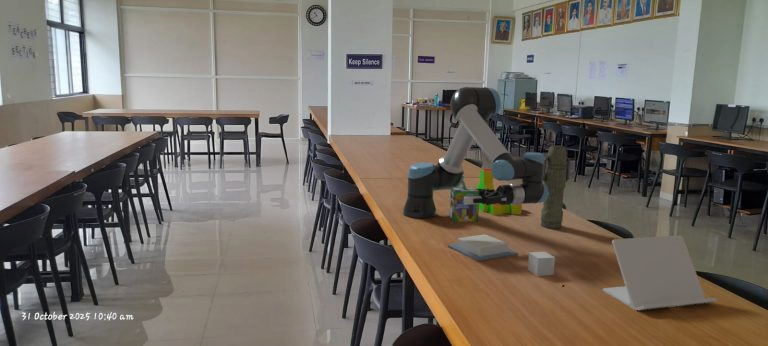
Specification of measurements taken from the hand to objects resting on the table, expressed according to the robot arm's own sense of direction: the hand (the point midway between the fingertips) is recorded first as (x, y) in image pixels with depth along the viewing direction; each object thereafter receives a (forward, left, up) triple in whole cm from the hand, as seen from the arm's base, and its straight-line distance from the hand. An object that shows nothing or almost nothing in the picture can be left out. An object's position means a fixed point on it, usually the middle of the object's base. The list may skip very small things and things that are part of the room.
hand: (456, 197), depth 199 cm
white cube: (+33, +11, -20) cm, 40 cm away
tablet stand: (+64, +26, -20) cm, 72 cm away
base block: (+7, +8, -19) cm, 22 cm away
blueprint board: (+7, +8, -19) cm, 22 cm away
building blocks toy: (-43, +58, -20) cm, 75 cm away
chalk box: (+1, +3, -9) cm, 9 cm away
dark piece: (-7, +58, -19) cm, 62 cm away
